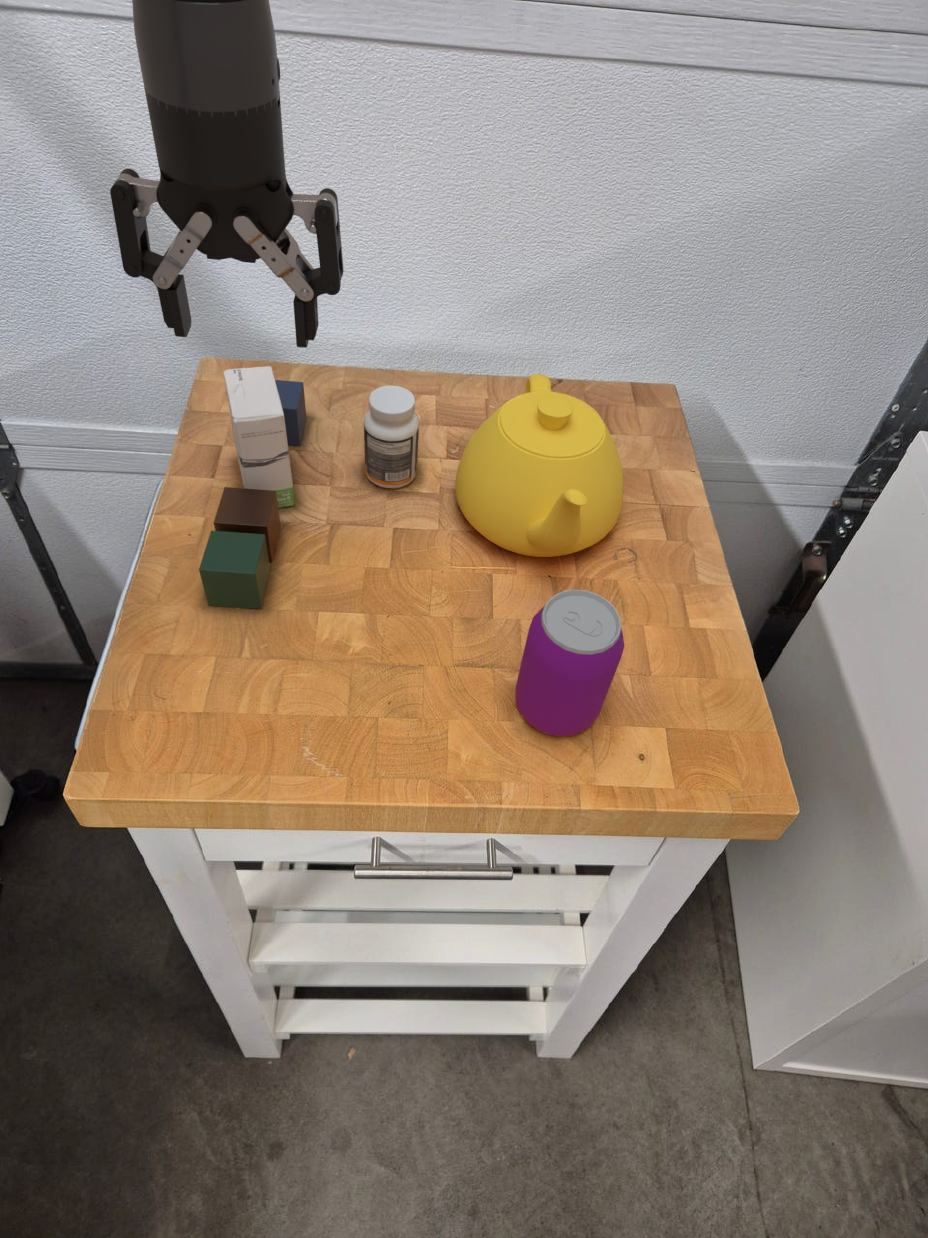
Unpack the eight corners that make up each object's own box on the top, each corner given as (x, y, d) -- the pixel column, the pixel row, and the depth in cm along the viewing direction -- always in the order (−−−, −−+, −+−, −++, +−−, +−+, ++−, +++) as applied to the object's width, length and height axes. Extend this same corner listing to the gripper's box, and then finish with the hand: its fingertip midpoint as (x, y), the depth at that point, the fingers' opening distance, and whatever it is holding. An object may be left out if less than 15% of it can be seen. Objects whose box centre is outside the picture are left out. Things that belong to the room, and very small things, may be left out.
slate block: (255, 442, 91) (249, 405, 88) (263, 414, 95) (258, 377, 91) (300, 445, 92) (296, 409, 88) (306, 418, 95) (303, 381, 91)
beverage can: (498, 717, 71) (516, 632, 62) (534, 656, 76) (556, 568, 66) (579, 756, 69) (610, 674, 60) (611, 691, 74) (644, 606, 64)
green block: (207, 605, 76) (198, 569, 72) (219, 566, 79) (210, 530, 76) (261, 609, 76) (255, 573, 73) (270, 570, 80) (265, 533, 76)
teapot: (640, 604, 81) (679, 502, 70) (462, 605, 79) (475, 500, 68) (596, 442, 96) (623, 338, 86) (447, 439, 94) (455, 333, 84)
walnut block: (221, 559, 80) (213, 522, 76) (231, 523, 83) (224, 486, 79) (272, 562, 80) (267, 526, 76) (280, 527, 83) (276, 490, 80)
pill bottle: (377, 451, 92) (377, 375, 84) (424, 465, 91) (428, 390, 83) (356, 481, 89) (353, 405, 81) (404, 497, 88) (407, 422, 80)
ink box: (296, 506, 85) (286, 414, 76) (248, 514, 84) (232, 421, 75) (282, 454, 90) (271, 362, 81) (237, 460, 89) (221, 367, 80)
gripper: (62, 90, 44) (130, 357, 56) (330, 117, 45) (338, 374, 57) (102, 45, 48) (156, 301, 61) (343, 71, 49) (348, 317, 62)
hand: (244, 336), depth 59 cm, fingers open, 8 cm apart
